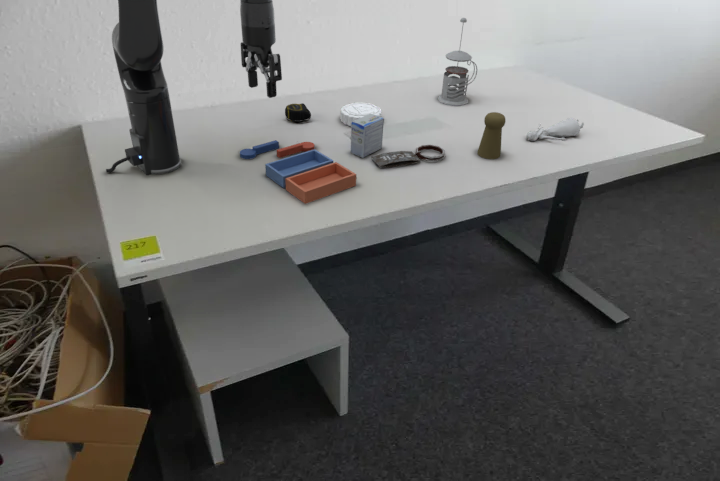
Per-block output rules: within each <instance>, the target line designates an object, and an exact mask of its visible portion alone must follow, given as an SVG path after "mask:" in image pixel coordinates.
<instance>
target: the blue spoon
mask: <svg viewBox="0 0 720 481" xmlns="http://www.w3.org/2000/svg"><path fill="white" fill-rule="evenodd" d="M277 149H280V142H279V141H278V140H272V141H268V142H264V143H261V144H257V145H254V146H252V148H243V149H241V150H240V151H239V157H240V158H241V159H243V160H253V159H255V158H256V157H257V155H261V154H264V153H267V152H271V151H274V150H275V151H276V150H277Z"/></svg>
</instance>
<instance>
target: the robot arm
mask: <svg viewBox="0 0 720 481" xmlns="http://www.w3.org/2000/svg"><path fill="white" fill-rule="evenodd" d="M117 4H118V6H117V7H118V22H117V23H116V24H115V26H114V27H113V30H112V33H111V44H112V49H113V54H114V58H115V64H116V68H117V71H118V76H119V81H120V84H121V87H122V90H123V93H124V100H125V103H126V107H127V108H126V109H127V113H128V117H129V122H130V126H131V128H129V135H130V141H131V144H132V147H128V148H124V153H125V157H123V158H122V159H119V160H117V161H115V162H114V163H113V164H112V166H111V168H106V169H105V172H106V173H112V172H114V171H115V170H116V168H117V167H118V166H119V165H120V164H123V163H125V162H129V163H130V164H131V165H132V166H133V167H137V168H138V169H139V170H140V172H142V173H143V174H144V175H145V176H150V175H165V174H169V173H172V172H175V171H176V170H178V169H179V168H180V167H181V165H182V162H181V157H180V152H179V146H178V141H177V135H176V129H175V122H174V116H173V111H172V110H173V109H172V105H171V98H170V93H169V92H170V91H169V86H168V83H167V80H166V77H165V73H164V70H163V66H162V58H163V55H164V49H165V48H164V40H163V37H162V34H163V33H162V29H161V22H160V15H159V8H158V0H117ZM239 5H240V7H239V15H240V27H241V37H242V38H241V39H242V41H241V42H240V59H241V60H240V61H241V67H242V68H245V72H246V73H247V82H248V87H249V88H251V89H252V88H257V87H258V86H259V80H258V71H257V70H258V69H259V70H260V73H261V74H262V75H263V76H264V78H265V81H266V82H265V83H266V84H265V85H266V96H267V98H269V99H272V98H275V97H277V94H278V93H277V82H278V81H282V80H283V76H282V75H283V74H282V61H281V60H282V59H281V54H280V53H273V51H272V47H273V45H275V44H276V41H277V40H276V39H277V38H276V22H275V21H276V20H275V18H276V17H275V10H274V9H275V8H274V2H273V0H240V4H239Z"/></svg>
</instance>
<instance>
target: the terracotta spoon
mask: <svg viewBox="0 0 720 481" xmlns="http://www.w3.org/2000/svg"><path fill="white" fill-rule="evenodd" d="M315 146H316V144H315V143H314V142H311V141H303V142H300V143H295V144H292V145H288V146H284V147H281V148H278V149H276V157H277V158H279V159H283V158H286V157H290V156H293V155H296V154H300V153H304V152H307V151H310V150H314V149H315V150H316V148H315Z"/></svg>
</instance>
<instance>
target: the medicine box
mask: <svg viewBox="0 0 720 481" xmlns="http://www.w3.org/2000/svg"><path fill="white" fill-rule="evenodd" d="M384 123H385V118H384V117H380V116H377V115H374V114H369V115H366V116H364V117H362V118H359V119H357V120H355V121H353V122H352V123H351V126H350V127H351V129H350V153H351V154H353V155H355V156H357V157H360V158H363V159H364V158H366V157H367V156H369V155H371V154H373V153H375V152H376V151H379V150H381V149H382V148H383V138H384V137H383V136H384Z"/></svg>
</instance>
